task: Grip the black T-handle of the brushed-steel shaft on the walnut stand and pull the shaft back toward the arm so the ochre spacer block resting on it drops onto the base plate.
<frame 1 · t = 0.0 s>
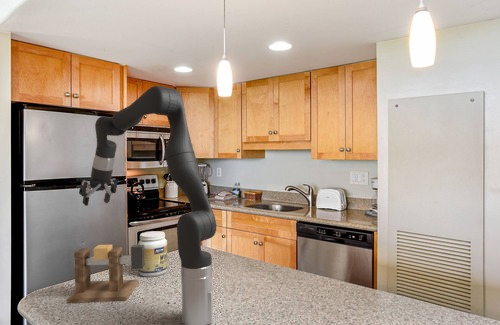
hand: (96, 203, 135), 31 cm above the countertop, tool tilted 20°, fingers open, 8 cm apart
supplement tub: (153, 273, 144), on the countertop
shaft stand: (102, 292, 124), on the countertop
ochre spacer: (103, 257, 123), point 13 cm above the countertop, touching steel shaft
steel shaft: (109, 257, 124), point 13 cm above the countertop, slide at 0.0 cm, touching ochre spacer
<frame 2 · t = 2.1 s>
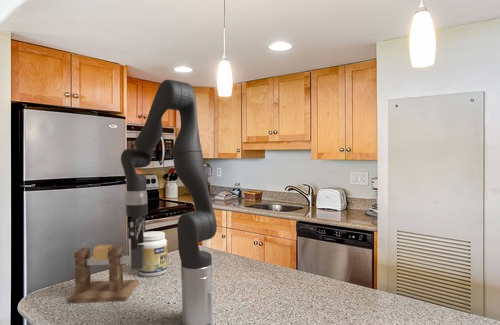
hand: (137, 246, 124), 17 cm above the countertop, tool pointing down, fingers open, 8 cm apart
nothing on the countertop moved.
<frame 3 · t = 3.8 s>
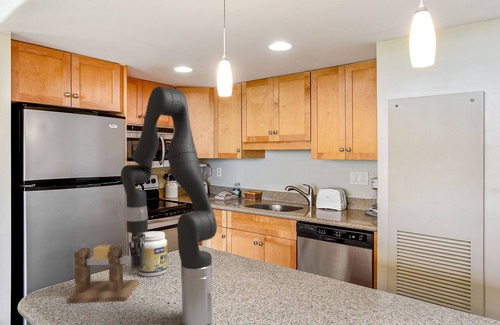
hand: (137, 264, 124), 10 cm above the countertop, tool pointing down, fingers closed on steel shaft, 3 cm apart
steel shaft: (109, 257, 124), point 13 cm above the countertop, slide at 0.0 cm, touching gripper, ochre spacer
everything else where it was.
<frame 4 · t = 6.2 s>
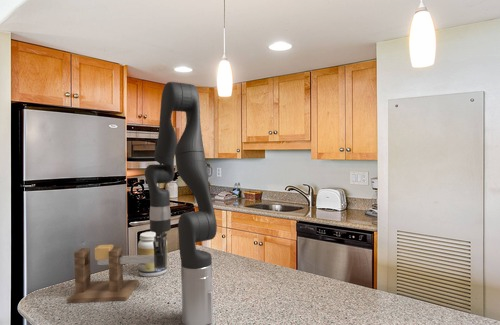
hand: (160, 263, 125), 10 cm above the countertop, tool pointing down, fingers closed on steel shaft, 3 cm apart
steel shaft: (132, 256, 124), point 13 cm above the countertop, slide at 8.3 cm, touching gripper, ochre spacer
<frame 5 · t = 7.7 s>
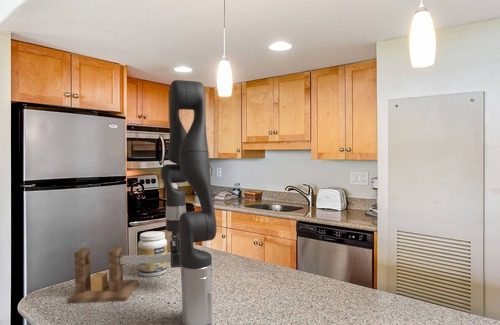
hand: (176, 262, 125), 10 cm above the countertop, tool pointing down, fingers closed on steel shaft, 3 cm apart
ochre spacer: (104, 281, 124), point 4 cm above the countertop, tilted 90°, touching shaft stand
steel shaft: (148, 256, 124), point 13 cm above the countertop, slide at 14.3 cm, touching gripper
everything else where it was.
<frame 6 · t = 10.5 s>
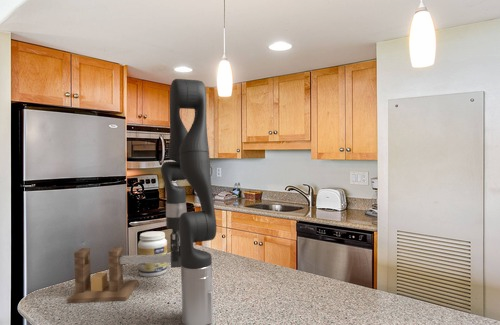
hand: (177, 257, 125), 12 cm above the countertop, tool pointing down, fingers open, 8 cm apart
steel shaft: (149, 256, 124), point 13 cm above the countertop, slide at 14.4 cm
everything else where it was.
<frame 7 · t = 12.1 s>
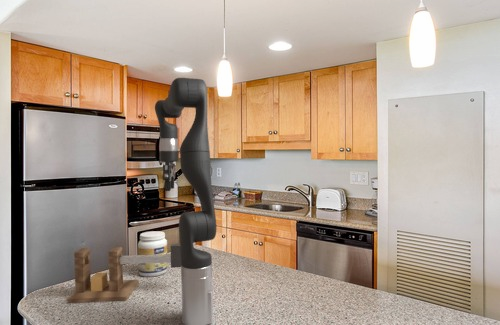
hand: (169, 189, 136), 37 cm above the countertop, tool pointing down, fingers open, 8 cm apart
nothing on the countertop moved.
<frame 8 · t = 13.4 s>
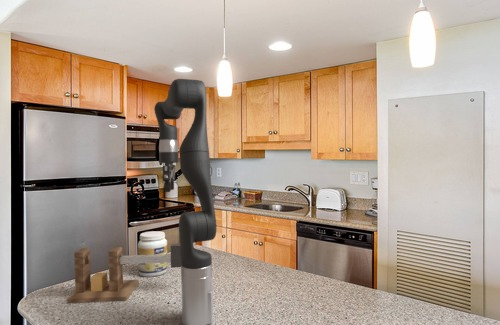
hand: (169, 190, 136), 36 cm above the countertop, tool pointing down, fingers open, 8 cm apart
nothing on the countertop moved.
at the end: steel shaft slide at 14.4 cm; ochre spacer inside the target area (1.7 cm from its centre), point 4.0 cm above the countertop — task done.
